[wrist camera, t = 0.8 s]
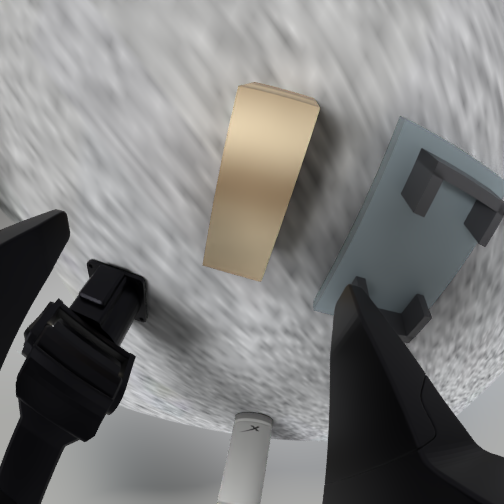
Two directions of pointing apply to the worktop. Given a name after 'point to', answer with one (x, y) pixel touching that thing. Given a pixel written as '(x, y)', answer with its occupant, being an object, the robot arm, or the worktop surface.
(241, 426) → the travel mug
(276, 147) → the slat
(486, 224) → the board
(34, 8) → the worktop surface
